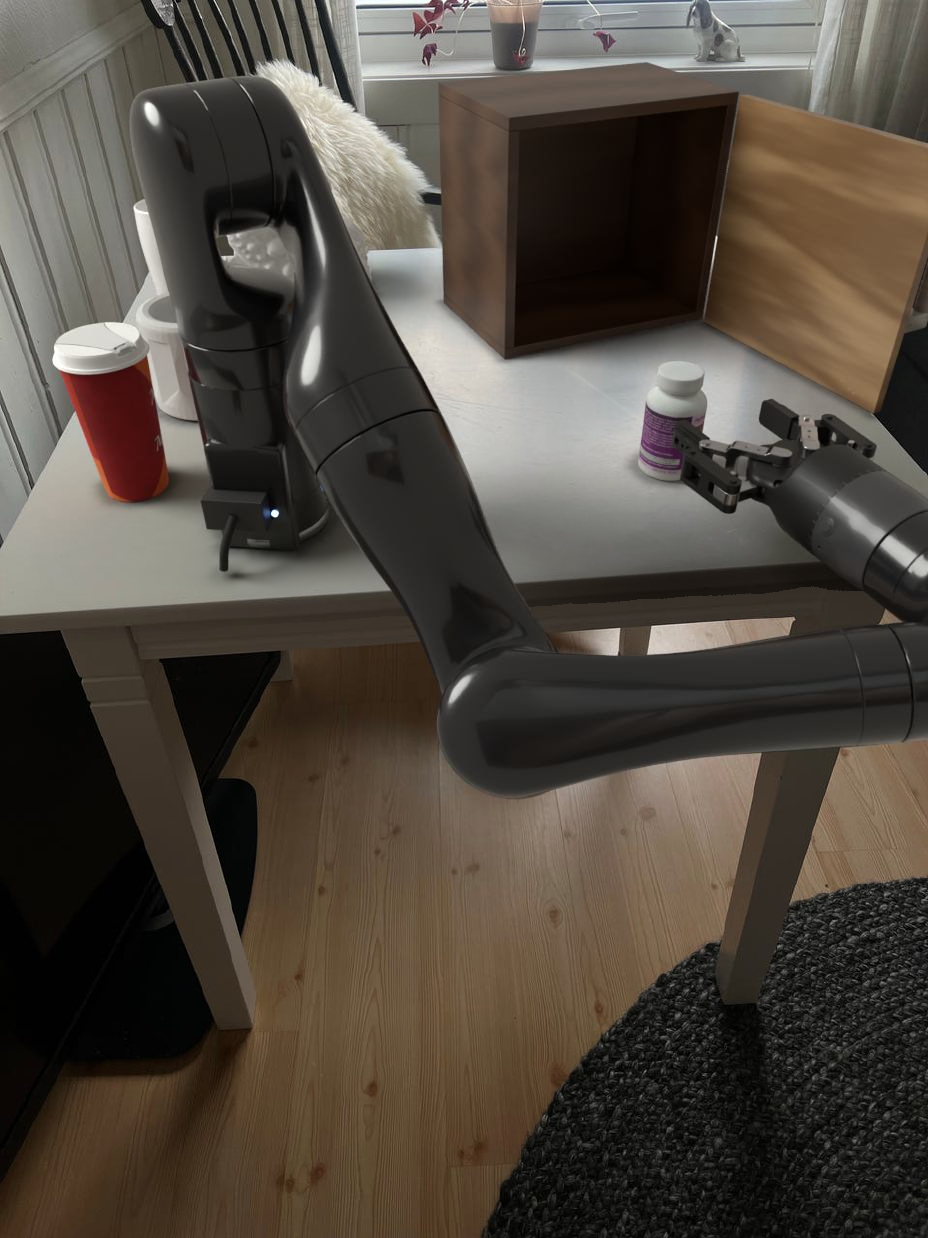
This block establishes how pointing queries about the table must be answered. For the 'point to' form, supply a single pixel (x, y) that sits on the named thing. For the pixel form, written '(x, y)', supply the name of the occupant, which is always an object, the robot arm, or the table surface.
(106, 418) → the paper cup
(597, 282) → the cabinet
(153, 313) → the mug
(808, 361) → the cabinet door
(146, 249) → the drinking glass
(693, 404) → the pill bottle
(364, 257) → the cauliflower
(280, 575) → the table surface
